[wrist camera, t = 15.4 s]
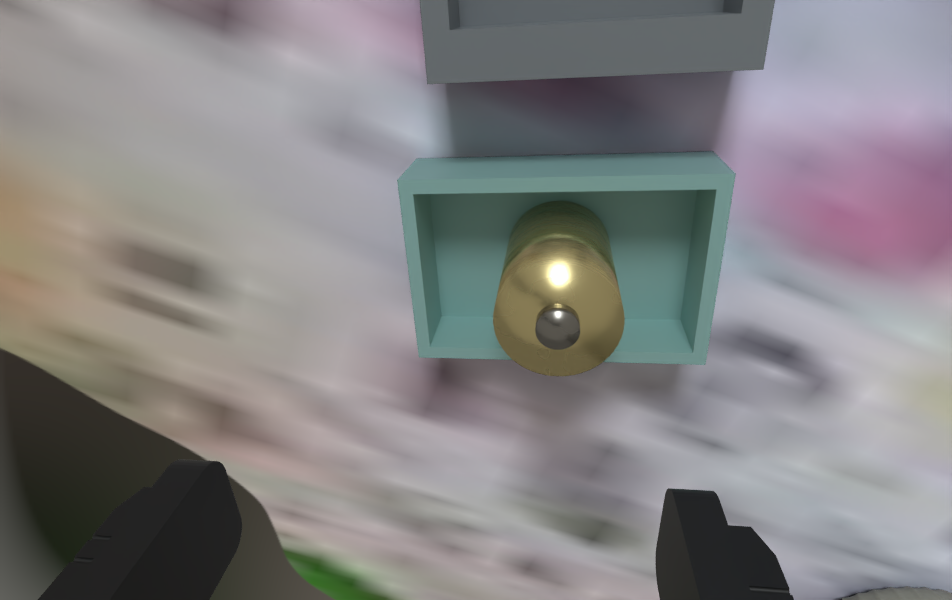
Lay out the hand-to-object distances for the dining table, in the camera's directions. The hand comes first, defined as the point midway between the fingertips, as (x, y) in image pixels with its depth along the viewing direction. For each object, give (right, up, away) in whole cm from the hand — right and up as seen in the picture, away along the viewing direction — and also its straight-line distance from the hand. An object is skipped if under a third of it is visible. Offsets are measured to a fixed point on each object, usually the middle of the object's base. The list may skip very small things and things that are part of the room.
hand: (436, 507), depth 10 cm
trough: (+5, +6, +17) cm, 19 cm away
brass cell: (+5, +6, +17) cm, 18 cm away
